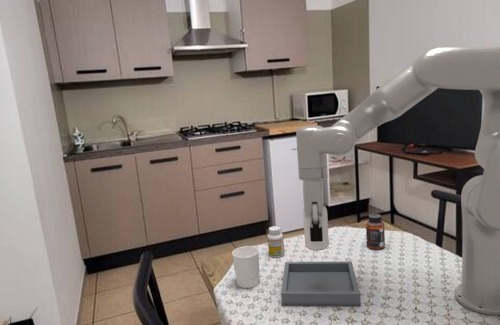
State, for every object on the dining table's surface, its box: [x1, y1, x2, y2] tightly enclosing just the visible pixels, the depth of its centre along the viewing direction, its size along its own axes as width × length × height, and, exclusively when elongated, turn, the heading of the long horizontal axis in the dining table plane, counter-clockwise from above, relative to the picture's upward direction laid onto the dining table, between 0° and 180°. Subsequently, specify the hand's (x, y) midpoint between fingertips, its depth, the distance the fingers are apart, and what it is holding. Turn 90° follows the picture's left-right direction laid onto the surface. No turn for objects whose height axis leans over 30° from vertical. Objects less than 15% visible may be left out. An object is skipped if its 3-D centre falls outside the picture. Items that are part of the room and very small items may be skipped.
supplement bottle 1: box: [267, 225, 285, 258], centre depth 126 cm, size 5×5×10 cm
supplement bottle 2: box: [365, 213, 386, 251], centre depth 125 cm, size 6×6×11 cm
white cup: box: [231, 245, 260, 289], centre depth 108 cm, size 8×8×10 cm
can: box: [302, 202, 330, 251], centre depth 99 cm, size 6×6×12 cm
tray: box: [280, 260, 361, 307], centre depth 102 cm, size 20×18×4 cm
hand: (316, 235), depth 100 cm, fingers closed on can, 5 cm apart
